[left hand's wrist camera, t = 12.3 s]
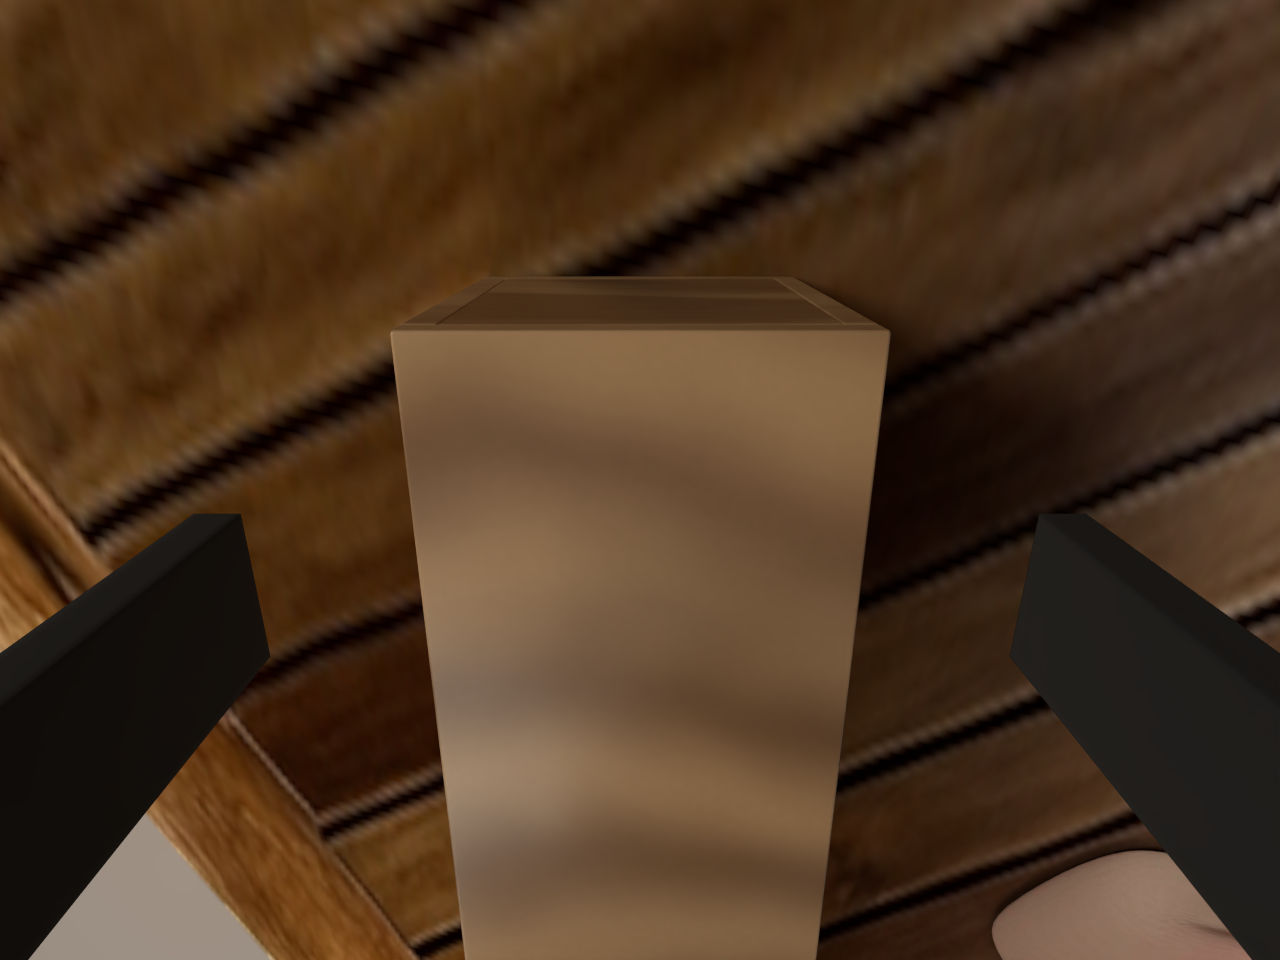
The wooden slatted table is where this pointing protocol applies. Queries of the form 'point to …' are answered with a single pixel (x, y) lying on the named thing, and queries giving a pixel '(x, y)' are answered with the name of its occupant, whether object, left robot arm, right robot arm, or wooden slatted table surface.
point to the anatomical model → (1115, 915)
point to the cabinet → (640, 602)
